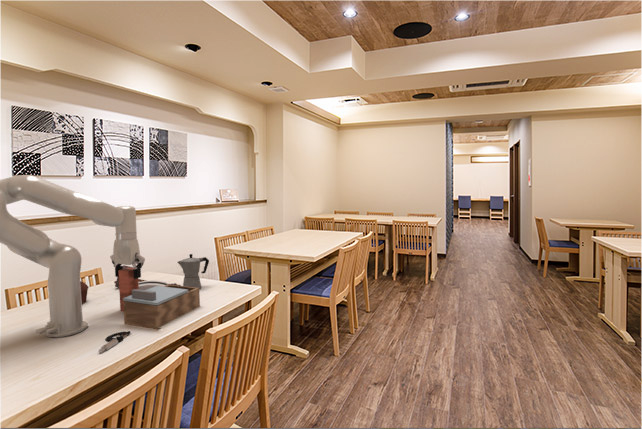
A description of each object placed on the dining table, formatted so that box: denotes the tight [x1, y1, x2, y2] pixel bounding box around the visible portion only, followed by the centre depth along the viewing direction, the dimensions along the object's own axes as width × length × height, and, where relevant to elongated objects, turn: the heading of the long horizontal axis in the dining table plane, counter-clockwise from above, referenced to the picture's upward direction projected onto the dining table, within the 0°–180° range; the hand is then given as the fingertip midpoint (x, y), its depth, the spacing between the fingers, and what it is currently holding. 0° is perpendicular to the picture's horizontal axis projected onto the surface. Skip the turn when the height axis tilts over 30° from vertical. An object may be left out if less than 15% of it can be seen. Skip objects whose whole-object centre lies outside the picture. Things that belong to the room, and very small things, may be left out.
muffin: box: [80, 280, 89, 305], centre depth 159 cm, size 12×11×10 cm
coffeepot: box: [177, 253, 210, 291], centre depth 181 cm, size 15×9×18 cm, turn 121°
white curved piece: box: [138, 279, 169, 290], centre depth 165 cm, size 17×5×10 cm, turn 103°
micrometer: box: [97, 330, 132, 354], centre depth 120 cm, size 15×7×2 cm, turn 174°
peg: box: [118, 268, 139, 312], centre depth 148 cm, size 5×5×18 cm
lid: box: [123, 286, 188, 305], centre depth 140 cm, size 17×16×4 cm
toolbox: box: [123, 283, 201, 331], centre depth 144 cm, size 24×16×9 cm, turn 161°
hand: (128, 277), depth 147 cm, fingers open, 9 cm apart
